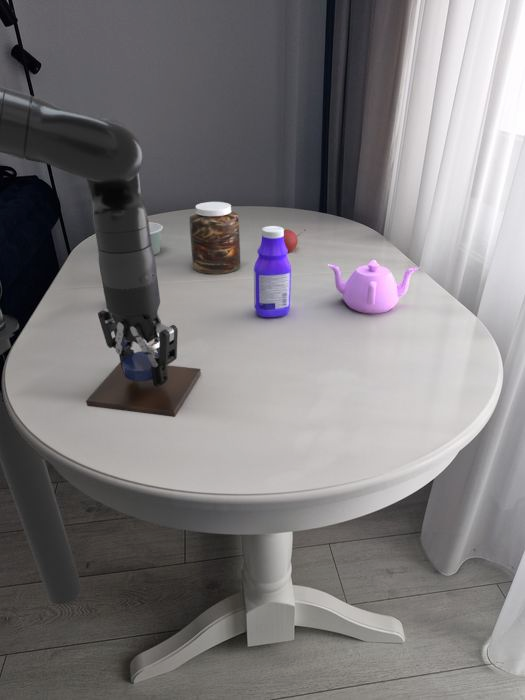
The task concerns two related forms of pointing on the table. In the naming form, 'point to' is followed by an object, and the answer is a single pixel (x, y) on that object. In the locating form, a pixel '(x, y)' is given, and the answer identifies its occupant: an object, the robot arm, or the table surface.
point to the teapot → (371, 288)
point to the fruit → (290, 240)
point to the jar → (215, 238)
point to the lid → (137, 367)
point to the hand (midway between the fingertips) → (144, 377)
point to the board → (145, 392)
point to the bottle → (272, 274)
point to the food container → (155, 236)
